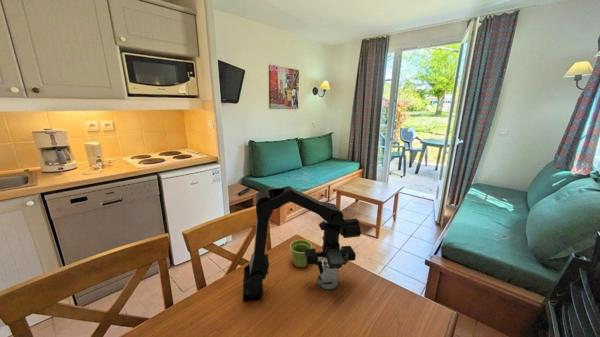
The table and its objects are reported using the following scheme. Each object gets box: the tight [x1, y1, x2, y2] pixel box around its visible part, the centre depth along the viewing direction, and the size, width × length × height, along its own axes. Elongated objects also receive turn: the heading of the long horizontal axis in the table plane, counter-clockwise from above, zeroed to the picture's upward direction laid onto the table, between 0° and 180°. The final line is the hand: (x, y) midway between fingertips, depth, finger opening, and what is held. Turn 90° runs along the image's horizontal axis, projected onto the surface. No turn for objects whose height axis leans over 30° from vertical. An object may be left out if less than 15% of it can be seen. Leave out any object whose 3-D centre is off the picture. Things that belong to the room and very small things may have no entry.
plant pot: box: [289, 239, 313, 268], centre depth 103 cm, size 9×9×9 cm
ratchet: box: [316, 258, 339, 293], centre depth 97 cm, size 16×8×5 cm, turn 10°
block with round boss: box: [318, 258, 340, 283], centre depth 91 cm, size 6×6×7 cm
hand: (328, 273), depth 92 cm, fingers closed on block with round boss, 6 cm apart
